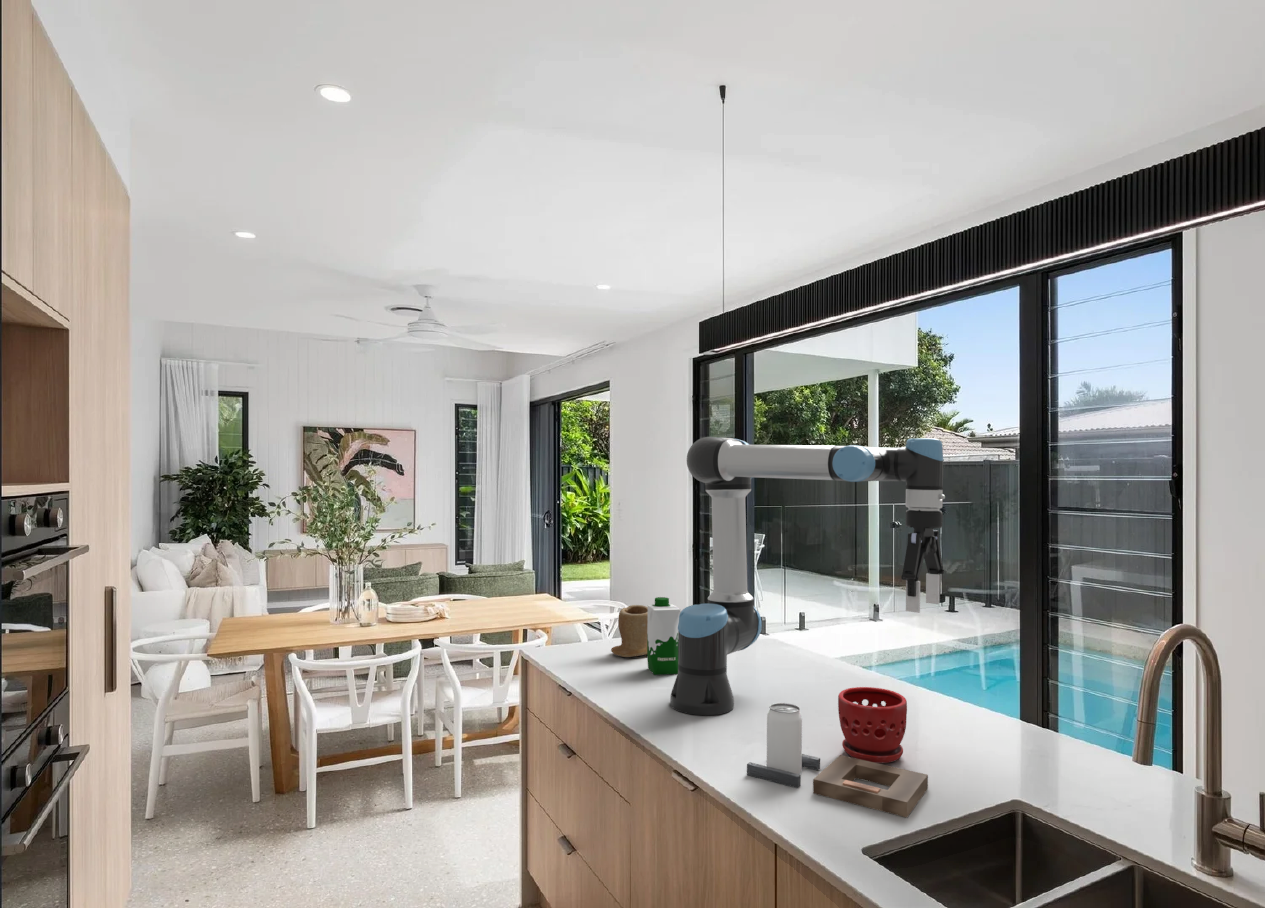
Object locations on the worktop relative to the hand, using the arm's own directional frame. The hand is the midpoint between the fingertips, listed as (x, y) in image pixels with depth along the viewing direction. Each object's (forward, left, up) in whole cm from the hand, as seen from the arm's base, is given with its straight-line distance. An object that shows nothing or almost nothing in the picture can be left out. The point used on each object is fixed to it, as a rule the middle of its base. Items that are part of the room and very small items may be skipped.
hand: (923, 607), depth 166 cm
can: (-16, -37, -28) cm, 49 cm away
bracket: (-16, -37, -27) cm, 49 cm away
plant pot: (-5, -19, -28) cm, 34 cm away
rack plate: (0, -36, -27) cm, 45 cm away
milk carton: (-72, +10, -28) cm, 78 cm away
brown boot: (-88, +21, -28) cm, 95 cm away
